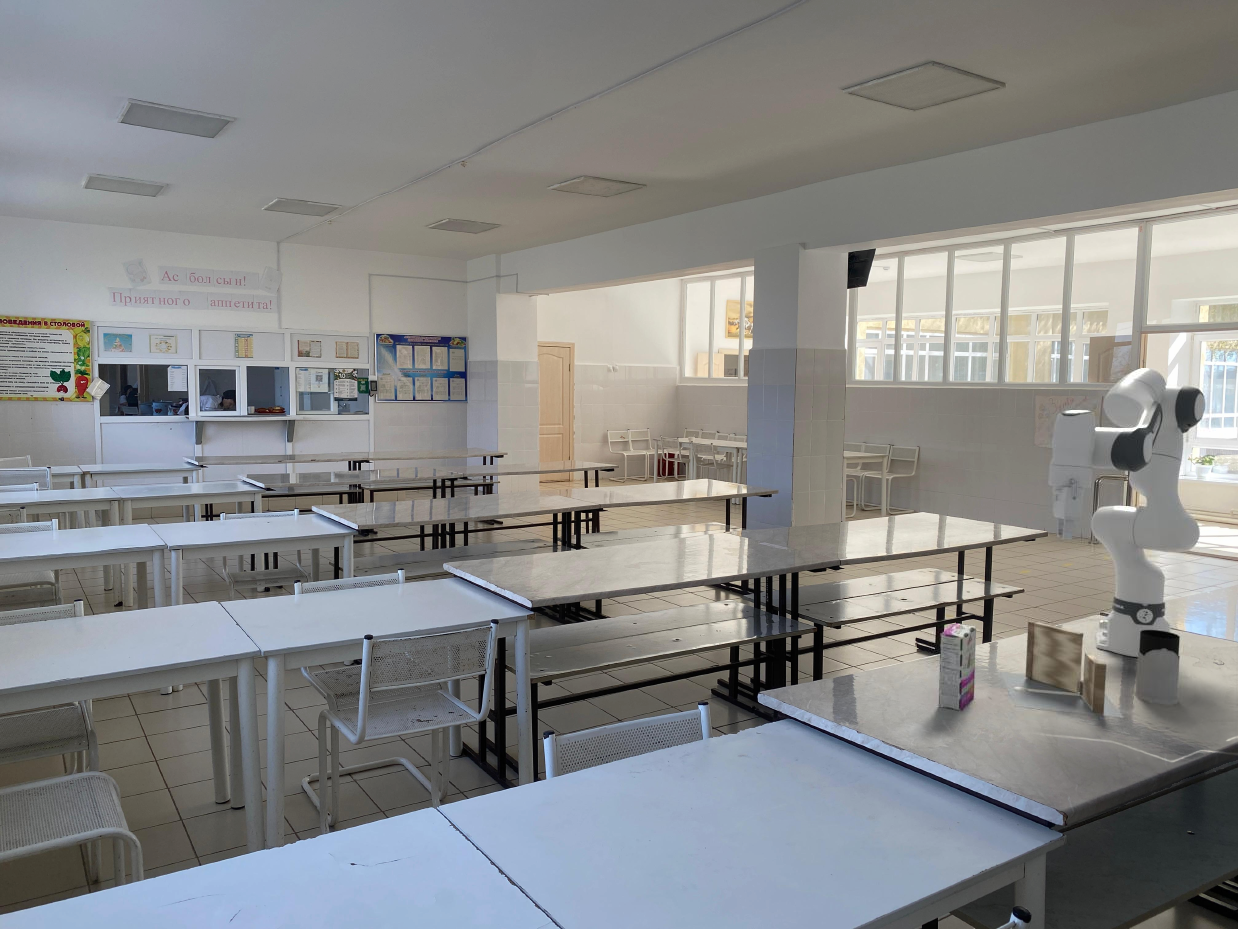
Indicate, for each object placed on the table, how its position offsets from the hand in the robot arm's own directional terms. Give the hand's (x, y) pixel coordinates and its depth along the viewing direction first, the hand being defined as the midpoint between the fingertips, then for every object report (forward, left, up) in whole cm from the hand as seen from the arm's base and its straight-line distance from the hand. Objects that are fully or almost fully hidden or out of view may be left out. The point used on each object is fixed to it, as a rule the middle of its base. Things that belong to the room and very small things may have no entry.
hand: (1064, 538), depth 195 cm
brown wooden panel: (0, -1, -35) cm, 34 cm away
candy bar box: (+19, -24, -35) cm, 46 cm away
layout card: (+6, -1, -35) cm, 36 cm away
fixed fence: (+11, +5, -35) cm, 37 cm away
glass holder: (-1, +20, -35) cm, 41 cm away
